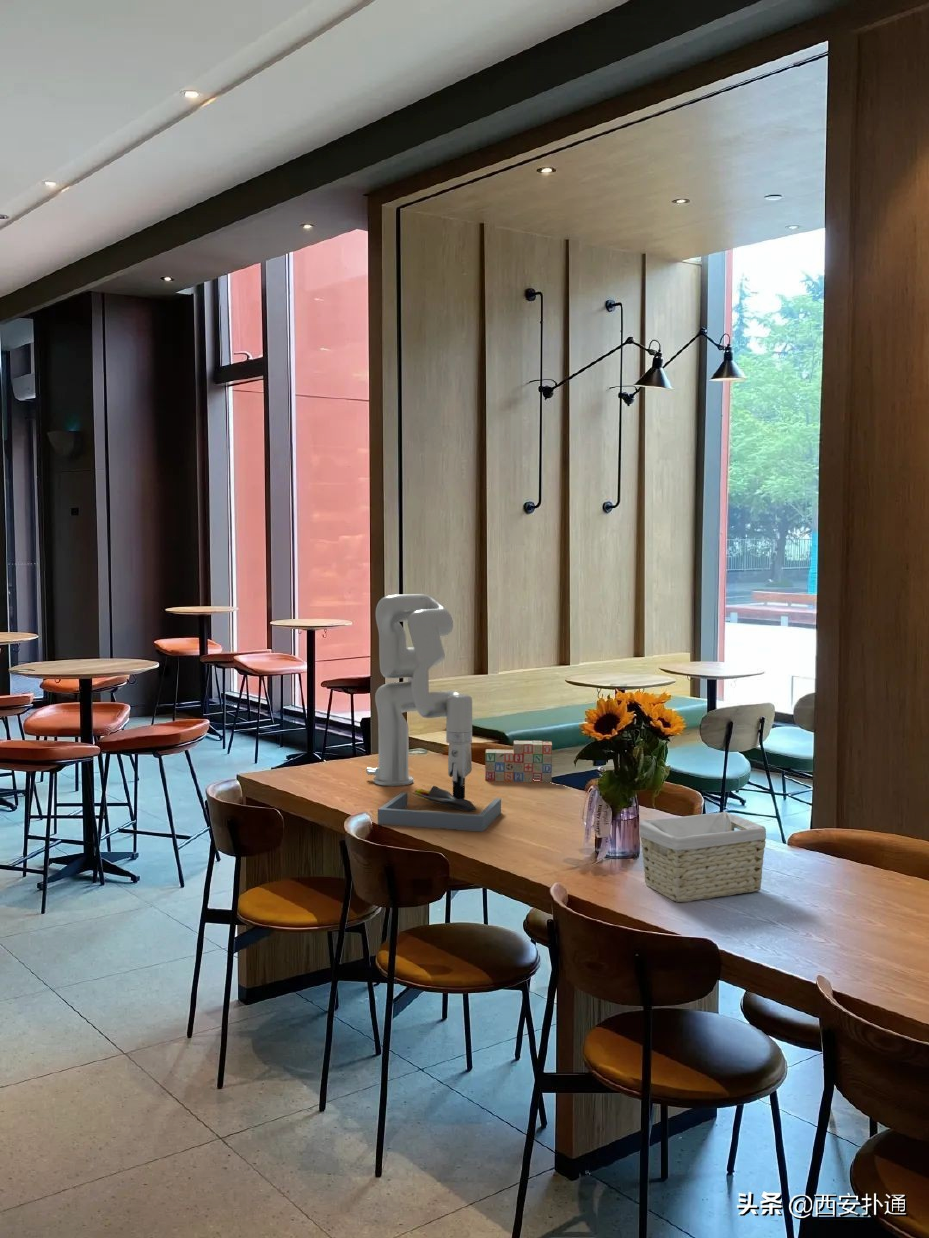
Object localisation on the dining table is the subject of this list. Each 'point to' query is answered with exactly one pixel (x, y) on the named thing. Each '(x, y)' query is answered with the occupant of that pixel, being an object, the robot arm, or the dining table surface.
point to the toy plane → (445, 798)
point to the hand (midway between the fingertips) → (458, 798)
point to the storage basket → (702, 855)
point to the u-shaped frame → (436, 816)
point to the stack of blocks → (520, 762)
